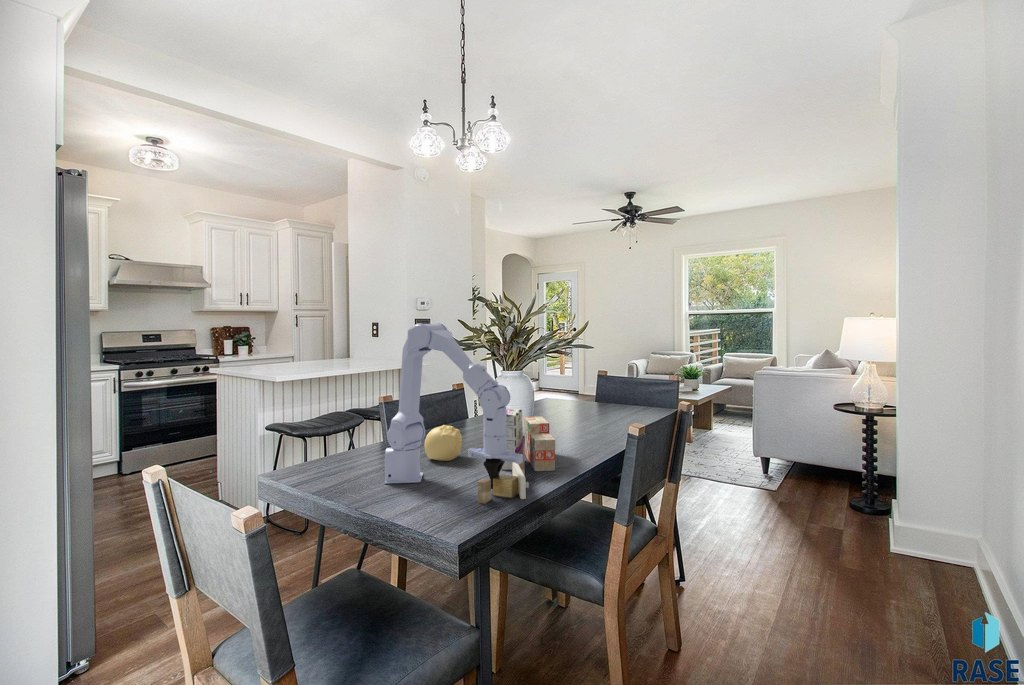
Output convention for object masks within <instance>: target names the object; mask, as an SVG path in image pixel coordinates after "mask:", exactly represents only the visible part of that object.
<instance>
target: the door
mask: <svg viewBox="0 0 1024 685" xmlns="http://www.w3.org/2000/svg"><path fill="white" fill-rule="evenodd" d="M512 472H513V476H518V496H519V498H520V500H526V497H527V493H526V489H529V488H530V484H529V483H530V482H529V481H526V479H527V478H526V476H524V474H523V472H522V470H521V468H520V467H519V465H518V464H516V463H514V462H512V470H511V473H512Z"/></svg>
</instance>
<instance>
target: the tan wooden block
mask: <svg viewBox="0 0 1024 685" xmlns="http://www.w3.org/2000/svg"><path fill="white" fill-rule="evenodd" d="M492 494H493V495H492V496H493V497H494V498H501V499H508V500H513V499H514V498H516V497H517V496H519V494H518V476H512V474H502V473H499V475H498V476H496V477H495V478H493V489H492Z"/></svg>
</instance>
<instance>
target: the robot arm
mask: <svg viewBox="0 0 1024 685" xmlns="http://www.w3.org/2000/svg"><path fill="white" fill-rule="evenodd" d="M433 350H434V351H439V352H443V353H444V355H446V356H447V357H448V359H450V360H451V361H452V363H454V364H455V365H456V366H457V368H459V370H460V371H461V372H462V379H463V381H464V382H465V383H466V384H467V386H468V387H469V388H470V389H471V390H472V391H473V392H474V393H475V394H476V396H477V397H478V402H479V403H478V404H479V406H480V407H481V409H482V416H483V438H482V439H483V440H482V441H483V448H480V447H479V448H478V447H477V448H476V447H470V448H468V449H467V457H468V458H478V459H479V458H480V459H485V461H483V466H484V468H485V469H486V472H487V474H488V476H489V479H491V490H493V478H495V477H496V476H498V475H499V474H501V471H502V469H501V468H502V466H503V464H504V463H505V461H507V462H514V463H516V464H520V463H522V462H523V458H524V453H523V454H517V453H513V452H510V451H506V410H507V406H509V404H510V402H511V393H510V391H509V390H508V387H506V386H505V385H504V384H499V382H498V381H497V379H495V380H494V378H493V377H492V376H491V375H490V373H488V371H487V367H486V366H485V365H481V364H480V363H474V362H473V361H472V360H471V359H470V357H469V356H468V355H467V353H466V352H465V351H464V350H463V348H462V347H461V346H460V345H459V344H458V341H456V339H455V338H454V335H453V333H452V331H450V330H449V329H448V327H447V326H445V325H444V324H443V323H439V322H438V323H421V322H420V323H419V322H418V323H416V324H414V325H413V326H411V327H410V328H409V329H408V330H407V338H406V341H405V343H404V345H403V347H402V354H401V368H400V382H399V384H400V386H399V398H398V412H397V413H396V414H395V416H393V417H392V418H391V420H390V426H389V429H388V430H387V432H386V438H387V442H388V444H389V446H390V447H386V449H385V452H384V484H385V485H386V484H388V485H389V484H413V483H414V484H415V483H421V482H422V478H423V475H424V472H421V445H422V441H423V440H425V438H426V427H425V425H424V417H423V416H422V414H420V402H421V401H420V400H421V399H420V398H421V389H422V388H421V387H422V372H423V360H424V357H425V355H427V354H428V353H429V352H431V351H433Z"/></svg>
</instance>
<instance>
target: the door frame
mask: <svg viewBox="0 0 1024 685" xmlns="http://www.w3.org/2000/svg"><path fill="white" fill-rule="evenodd" d="M518 465H519V467H520V468H521V470H522V472H523V474H524V476H525V458H524V457H523V462H522V463H520V464H518ZM511 476H513V472H512V471H511ZM525 477H526V476H525ZM491 500H492V489H491V479H490V478H481V479H479V480H478V481H477V503H479V504H484V505H485V504H487V503H488V502H490V501H491Z"/></svg>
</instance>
